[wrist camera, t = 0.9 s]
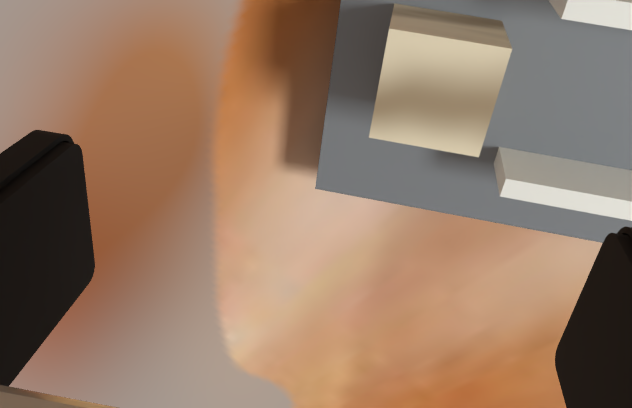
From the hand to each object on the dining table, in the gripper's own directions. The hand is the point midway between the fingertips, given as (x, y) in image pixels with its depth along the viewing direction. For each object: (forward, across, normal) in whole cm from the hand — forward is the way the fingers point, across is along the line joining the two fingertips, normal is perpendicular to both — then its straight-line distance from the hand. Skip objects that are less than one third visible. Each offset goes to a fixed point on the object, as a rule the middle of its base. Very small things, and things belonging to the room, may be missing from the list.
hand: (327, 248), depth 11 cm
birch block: (+26, -3, +4) cm, 26 cm away
